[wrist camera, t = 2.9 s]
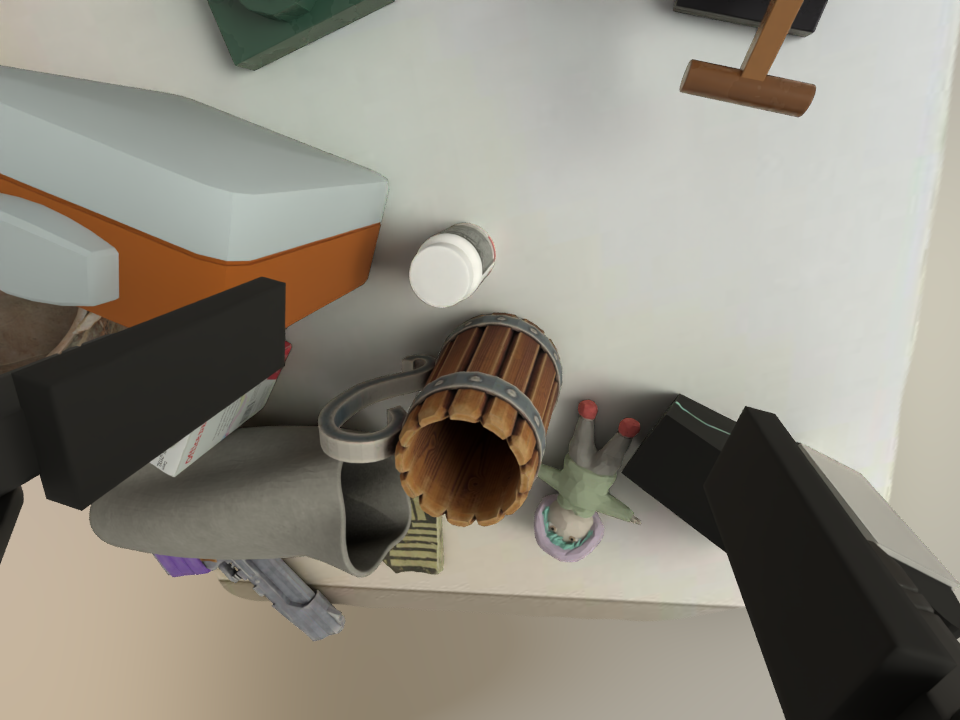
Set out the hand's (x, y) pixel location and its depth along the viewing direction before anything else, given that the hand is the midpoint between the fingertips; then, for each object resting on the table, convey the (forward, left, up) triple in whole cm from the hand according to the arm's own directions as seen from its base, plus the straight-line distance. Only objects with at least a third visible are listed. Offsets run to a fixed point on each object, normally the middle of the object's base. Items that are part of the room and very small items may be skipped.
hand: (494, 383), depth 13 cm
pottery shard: (+23, -19, -25) cm, 39 cm away
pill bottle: (-1, -6, -25) cm, 26 cm away
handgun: (+31, -51, -23) cm, 64 cm away
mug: (+8, -9, -25) cm, 28 cm away
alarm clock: (-10, -20, -25) cm, 33 cm away
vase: (+11, -48, -20) cm, 53 cm away
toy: (+14, +2, -24) cm, 27 cm away
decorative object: (+21, +10, -25) cm, 34 cm away
